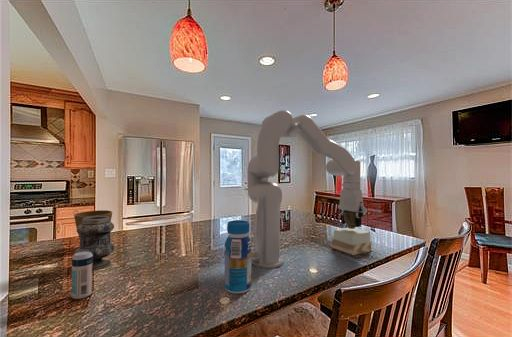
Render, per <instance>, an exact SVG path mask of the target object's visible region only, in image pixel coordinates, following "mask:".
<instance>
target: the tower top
mask: <svg viewBox="0 0 512 337" xmlns="http://www.w3.org/2000/svg"><path fill="white" fill-rule="evenodd" d="M333 239H335V240H338V241H341V242H344V243H347V244H350V245H357V244H362V243H368V242H371V232H370V231H367V230H362V229H360V228H359V229H358V228H357V227H356V228H355V229H350V228H348V227H342V228H336V229H335V228H334V229H333Z"/></svg>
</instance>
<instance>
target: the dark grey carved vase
mask: <svg viewBox="0 0 512 337" xmlns="http://www.w3.org/2000/svg"><path fill="white" fill-rule="evenodd" d="M114 227H115V224H114V223H113V222H112V221H111V222H110V220H109V217H108V216H93V217H86V218H83V220H82V224H80V225H79V226H78V227H77V228H76V229H75V230H76V233H77V234H80V238H79V246H78V248H77V249H76V250H75V253H78V252H83V251H90V252H91V253H92V255H93V270H92V271H96V270H101V269H103V268H106V267H108V266H110V265H111V263H112V262H111V261H110V260H109V259H105V258H106V257H108V256H110V255H111V254H112V253H113V252H114V250H115V246H114V244H113V243H112V242H111V232H112V231H113V230H114V229H115V228H114ZM75 253H74V254H75Z"/></svg>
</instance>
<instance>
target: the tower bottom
mask: <svg viewBox="0 0 512 337" xmlns="http://www.w3.org/2000/svg"><path fill="white" fill-rule="evenodd" d="M331 247H333V248H332V249H336V250H338V251H340V252H344V253H346V254H349V255H352V256H355V255H358V254H364V253H369V252H372V241H370V242H368V243H362V244H357V245H350V244H347V243H344V242H341V241H338V240H335V239H334V238H331Z"/></svg>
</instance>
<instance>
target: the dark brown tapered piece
mask: <svg viewBox="0 0 512 337" xmlns="http://www.w3.org/2000/svg"><path fill="white" fill-rule="evenodd" d="M358 214H359V212H358ZM343 215H344V221H345V223H346V225H347V227H346V228H350V229H355V228H356V229H357V227H355V218H357V217H356V214H355V212H350V211H348V212H347V211H345V212H344V210H343Z"/></svg>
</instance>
